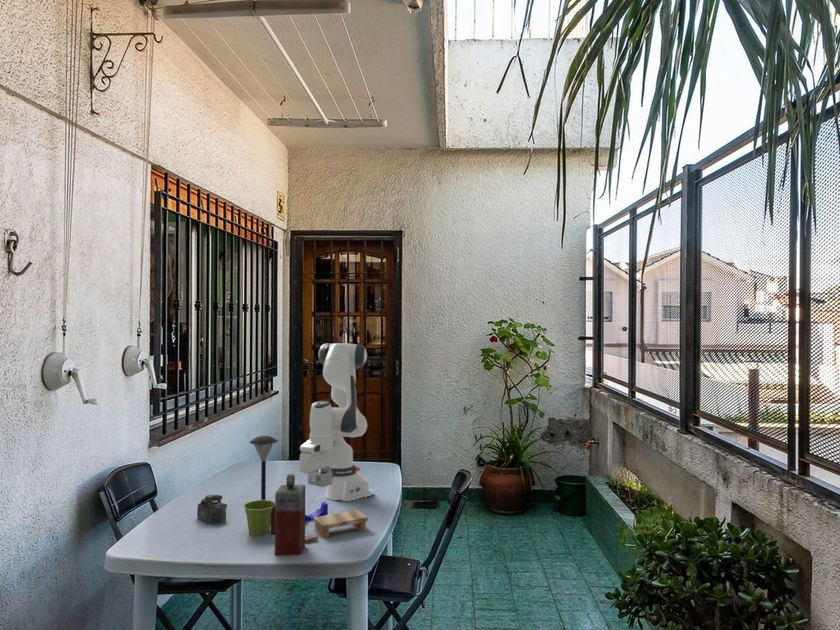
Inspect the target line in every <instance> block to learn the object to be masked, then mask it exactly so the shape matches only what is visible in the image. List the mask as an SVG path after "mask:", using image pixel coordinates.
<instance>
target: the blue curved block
mask: <svg viewBox="0 0 840 630" xmlns="http://www.w3.org/2000/svg"><path fill="white" fill-rule="evenodd" d="M324 515H329V504H328V503H327V501H326V502H324V501H323V502H321V505H320V508H317V509H316V511H314V512H312V513H310V514H305V522H309V521H313V517H319V516H324Z"/></svg>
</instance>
